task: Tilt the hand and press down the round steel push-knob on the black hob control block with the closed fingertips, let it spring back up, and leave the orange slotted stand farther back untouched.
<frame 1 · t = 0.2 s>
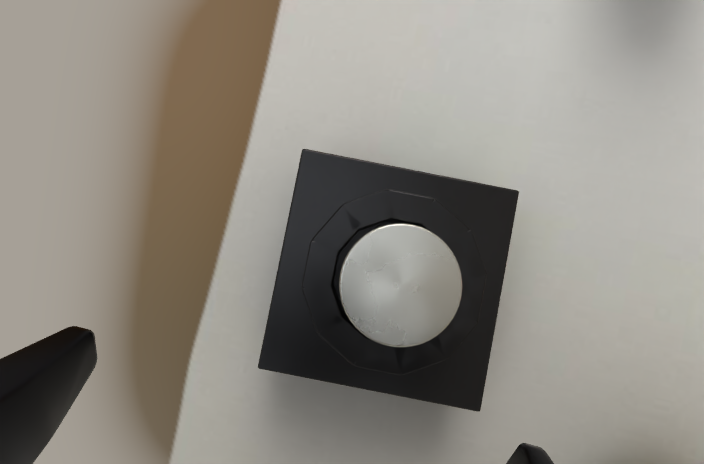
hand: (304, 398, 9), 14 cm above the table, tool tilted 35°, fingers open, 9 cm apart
hob knob: (396, 282, 16), point 7 cm above the table, slide at 0.1 cm
hob block: (382, 273, 23), on the table
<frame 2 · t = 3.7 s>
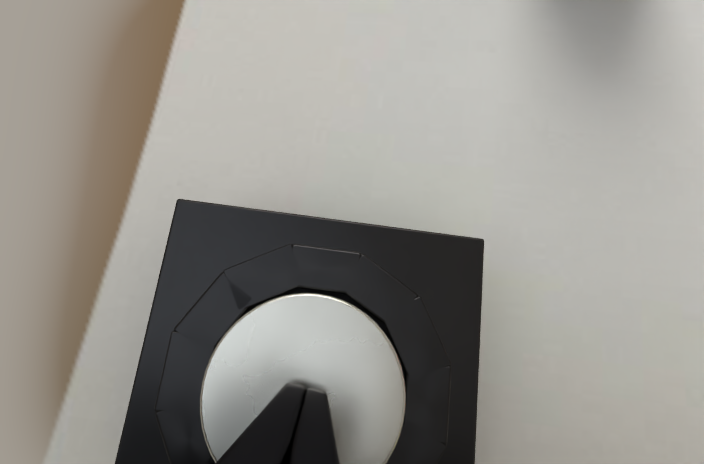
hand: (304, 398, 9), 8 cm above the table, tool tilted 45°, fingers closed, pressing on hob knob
hob knob: (306, 389, 10), point 6 cm above the table, slide at -0.3 cm, touching gripper
hob block: (313, 371, 17), on the table
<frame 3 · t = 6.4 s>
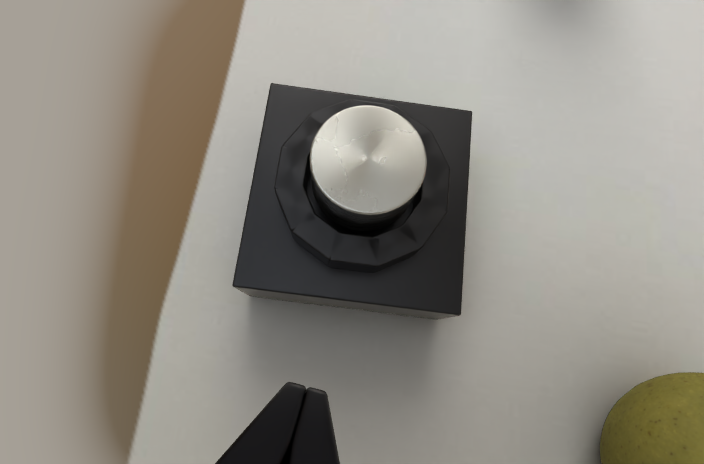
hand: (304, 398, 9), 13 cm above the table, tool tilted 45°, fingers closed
apple: (639, 448, 22), on the table
hob knob: (365, 170, 17), point 7 cm above the table, slide at 0.1 cm
hob block: (354, 217, 24), on the table
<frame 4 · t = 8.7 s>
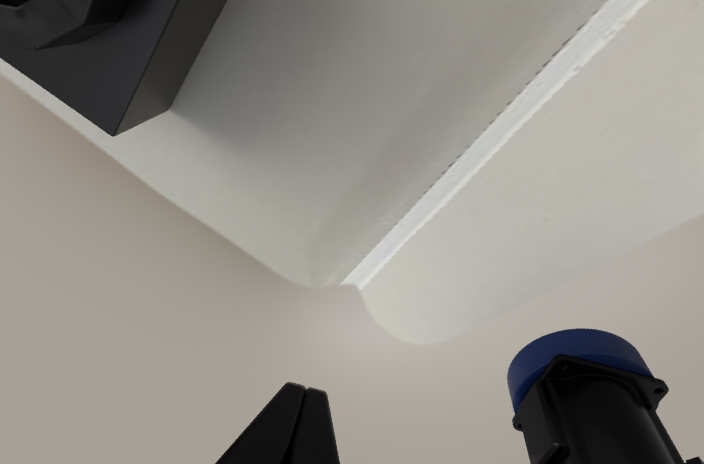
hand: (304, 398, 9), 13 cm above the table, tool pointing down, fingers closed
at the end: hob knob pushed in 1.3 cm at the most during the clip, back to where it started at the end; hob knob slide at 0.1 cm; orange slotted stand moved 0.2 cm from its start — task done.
